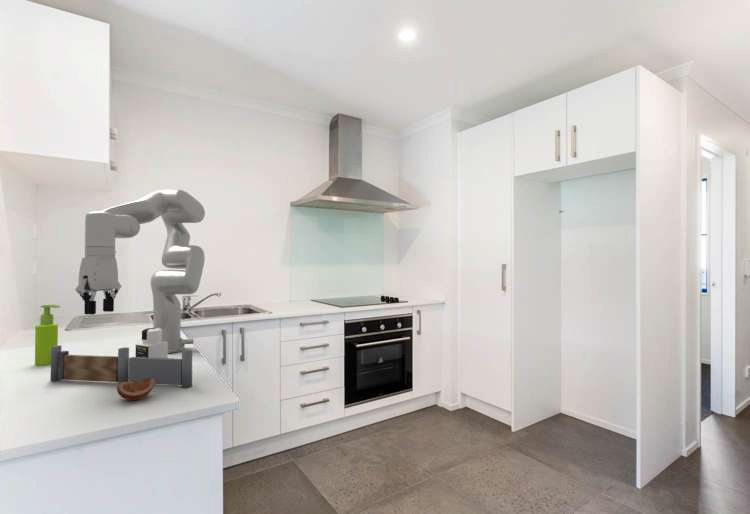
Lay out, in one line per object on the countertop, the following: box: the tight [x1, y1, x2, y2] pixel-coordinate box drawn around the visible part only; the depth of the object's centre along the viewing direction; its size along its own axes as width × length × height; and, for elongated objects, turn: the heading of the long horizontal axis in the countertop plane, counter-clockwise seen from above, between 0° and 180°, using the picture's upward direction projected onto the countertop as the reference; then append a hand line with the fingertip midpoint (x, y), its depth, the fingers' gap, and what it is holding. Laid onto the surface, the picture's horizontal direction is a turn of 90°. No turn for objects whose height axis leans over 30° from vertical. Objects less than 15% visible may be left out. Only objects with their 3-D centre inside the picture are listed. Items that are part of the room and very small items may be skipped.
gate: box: [58, 350, 118, 383], centre depth 112 cm, size 18×2×8 cm, turn 83°
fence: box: [49, 344, 193, 389], centre depth 111 cm, size 44×3×10 cm, turn 83°
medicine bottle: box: [135, 327, 169, 358], centre depth 133 cm, size 7×7×12 cm
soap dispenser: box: [34, 304, 61, 367], centre depth 133 cm, size 6×7×20 cm
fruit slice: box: [116, 378, 156, 401], centre depth 98 cm, size 8×7×5 cm
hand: (99, 312), depth 117 cm, fingers open, 5 cm apart
